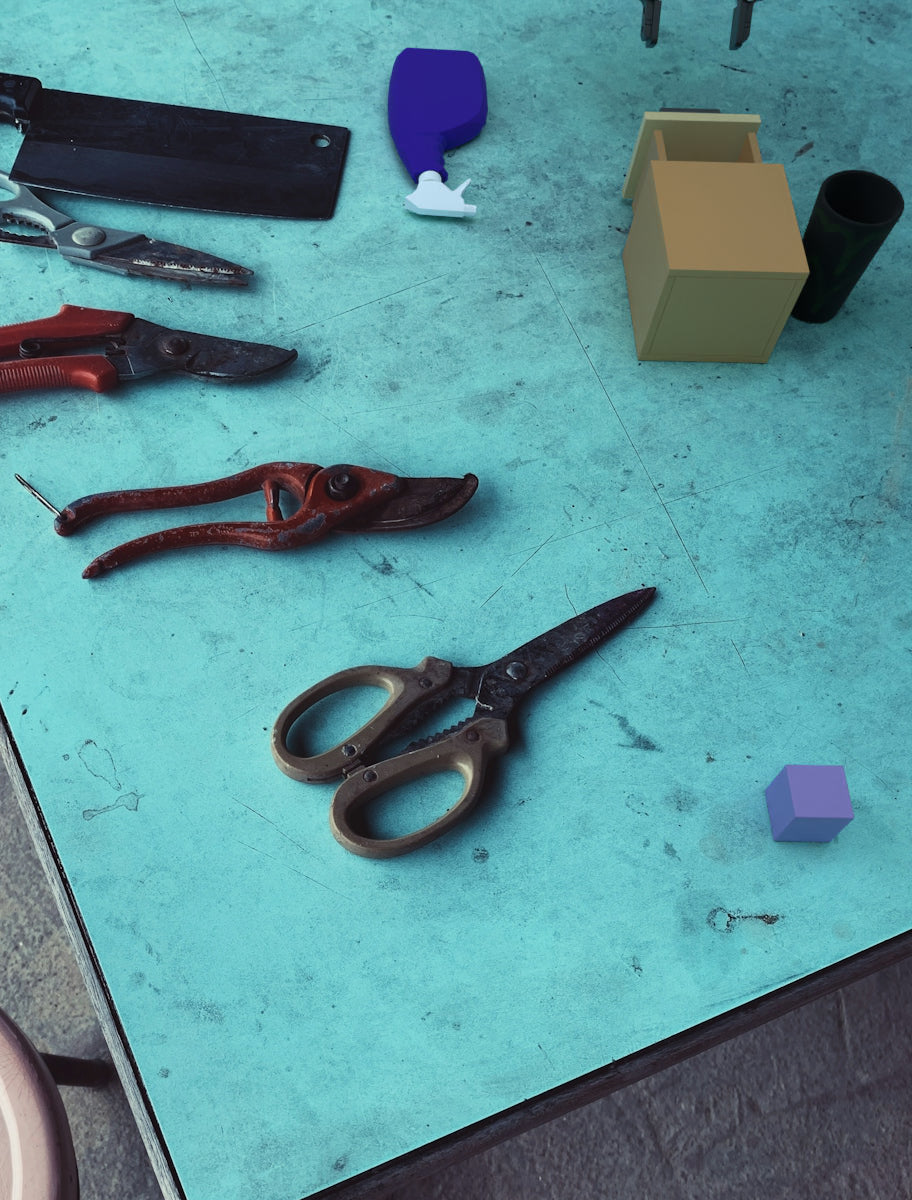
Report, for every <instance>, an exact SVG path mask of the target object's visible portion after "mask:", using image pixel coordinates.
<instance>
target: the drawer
mask: <svg viewBox="0 0 912 1200" xmlns="http://www.w3.org/2000/svg"><path fill="white" fill-rule="evenodd" d="M761 124H762V120H761V115H760V114H753V113H752V114H751V113H750V114H749V113H721V110H720V109H719V108H700V107H699V108H695V107H664V106H662V107H659V109H658V111H644V112H643V116H642V119H641V123H640V126H639V130H638V133H637V136H636V140H635V142H634V143H635V144H634V147H633V151H632V154H631V157H630V160H629V163H628V164H629V165H628V168H627V172H626V175H625V178H624V182H623V184H622V185H623V186H622V189H621V195H622V199H623V200H633V201H632V202H631V211H632V217H634V215H635V211H636V208H637V205H638V201H639V198H640V195H641V191H642V188H643V185H644V182H645V178H646V175H647V172H648V168H649V165H650V162H651V160H657V161H694V162H732V163H764V162H763V159H762V153H761V149H760V146H759V141H758V137H757V135H758V132H759V130H760V127H761Z"/></svg>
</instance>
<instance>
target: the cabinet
mask: <svg viewBox="0 0 912 1200" xmlns="http://www.w3.org/2000/svg"><path fill="white" fill-rule="evenodd" d="M802 239H803V238H802V235H801V231H800V227H799V222H798V219H797V215H796V211H795V207H794V203H793V198H792V194H791V190H790V187H789V183H788V178H787V174H786V170H785V166H784V164H783V163H768V162H767V163H764V162H763V163H732V162H694V161H657V160H651V162H650V165H649V168H648V172H647V175H646V178H645V182H644V185H643V188H642V191H641V195H640V198H639V201H638V205H637V208H636V211H635V215H634V216H633V218H632V221H631V225H630V229H629V232H628V234H627V238H626V240H625V241H626V242H625V244H624V248H623V251H622V254H621V255H622V264H623V269H624V275H625V282H626V289H627V297H628V302H629V303H628V304H629V309H630V315H631V323H632V330H633V336H634V343H635V350H636V355H637V357H636V358H637V361H657V362H659V361H660V362H695V363H697V362H698V363H699V362H700V363H703V362H704V363H739V364H741V363H744V364H747V363H748V364H768V362H769V360H770V357H771V355H772V353H773V351H774V349H775V347H776V345H777V342H778V340H779V338H780V336H781V334H782V332H783V330H784V327H785V326H786V323H787V322H788V319H789V318H790V316H791V314H790V313H791V311H792V309H793V307H794V305H795V303H796V301H797V298H798V296H799V294H800V292H801V290H802V288H803V286H804V284H805V282H806V279H807V277H808V275H809V273H810V272H809V268H808V263H807V259H806V255H805V251H804V247H803V243H802Z"/></svg>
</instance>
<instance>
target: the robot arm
mask: <svg viewBox="0 0 912 1200" xmlns="http://www.w3.org/2000/svg"><path fill="white" fill-rule="evenodd" d="M639 2H640V3H641V4H642V15H641V23H640V24H641V25H640V33H639V36H640V39H641V42H645V45H644V46H645V49H653V48H655V47H656V46H657V44H658V41H659V34H660V33H659V32H660V23H661V22H660V21H661V14H662V13H661V12H662V3H663V0H639ZM734 2H735V4H736V6H735V7H734V8H733V11H732V18H731V25H730V26H731V28H730V37H729V44H728V50H729V51H738V50H739V49H740V48H742V46H743V44H744V43H745V42H747V41H748V40H749V37H750V35H751V27H752V19H753V11H754V5H755V4H756V3H758V2H764V0H734Z"/></svg>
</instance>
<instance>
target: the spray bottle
mask: <svg viewBox="0 0 912 1200" xmlns="http://www.w3.org/2000/svg"><path fill="white" fill-rule="evenodd" d="M388 83H389V84H388V93H387V122H388V127H389V133H390V136H391V138H392V141H393V144H394V146H395V149H396V151H397V155H398V156H399V158H400V160H401V162H402V164H403V166H404V168H405V169H406V172H407V173H408V175H409V176H410V178H411V180H412V181H413V183H414V184H417V187H416V189H415V190H414V191H413V192H412V193H410V194H407V195H406V196H405V197H404V204H403V205H404V206H403V208H404V209H405V210H407V211H410V212H411V213H412V212H413V213H415V214H417V215H424V216H438V217H451V218H452V217H453V218H464V217H476V215H477V207H478V206H477V205H474V204H467V203H465V199H464V198H463V196H464V193H465V192H466V190H467V188H468V187H469V186H470V184H471V183H472V179H470V178H468V179H466V180H465V181H463V182H462V183H461V184H460V185H458V187H456V188H455V189H454V190H451V189H450V188H449V187H448V186H447V185H446V184H445V183H446V182H447V181H448V180H449V172H448V171H447V169H446V168H445V165H446V160H445V158H444V156H445V152H447V151H450V150H453V149H455V148H458V147H460V146H462V145H465V144H467V143H470V142H471V141H472V140H473V139H475V138H476V137H477V136H479V134H480V133H481V131H482V130H483V128H485V126H486V123H487V119H488V112H489V101H488V87H487V80H486V75H485V70H484V67H483V65H482V63H481V61H480V59H479V57H478V56H477V55H476V53H475V52H472V51H469V50H461V49H443V48H425V47H423V48H422V47H405V48H404V49H402V50H401V52H400V53H398V54H397V56H396V58H395V59H394V62H393V65H392V68H391V73H390V79H389V82H388Z"/></svg>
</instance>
